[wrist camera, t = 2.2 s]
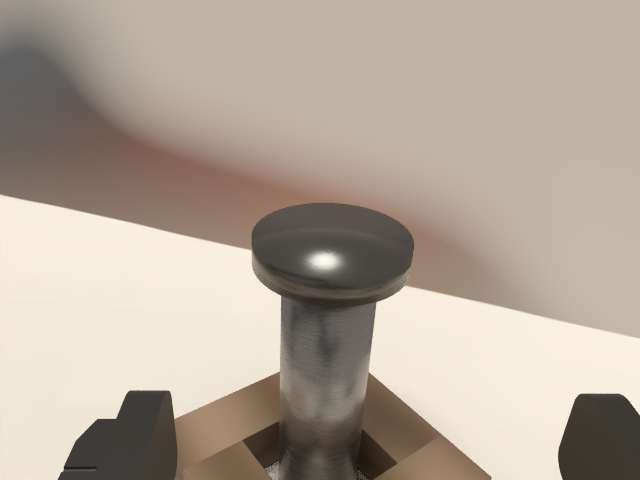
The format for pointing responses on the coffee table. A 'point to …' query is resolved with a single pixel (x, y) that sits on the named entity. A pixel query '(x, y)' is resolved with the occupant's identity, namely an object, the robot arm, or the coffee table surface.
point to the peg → (327, 324)
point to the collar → (263, 439)
